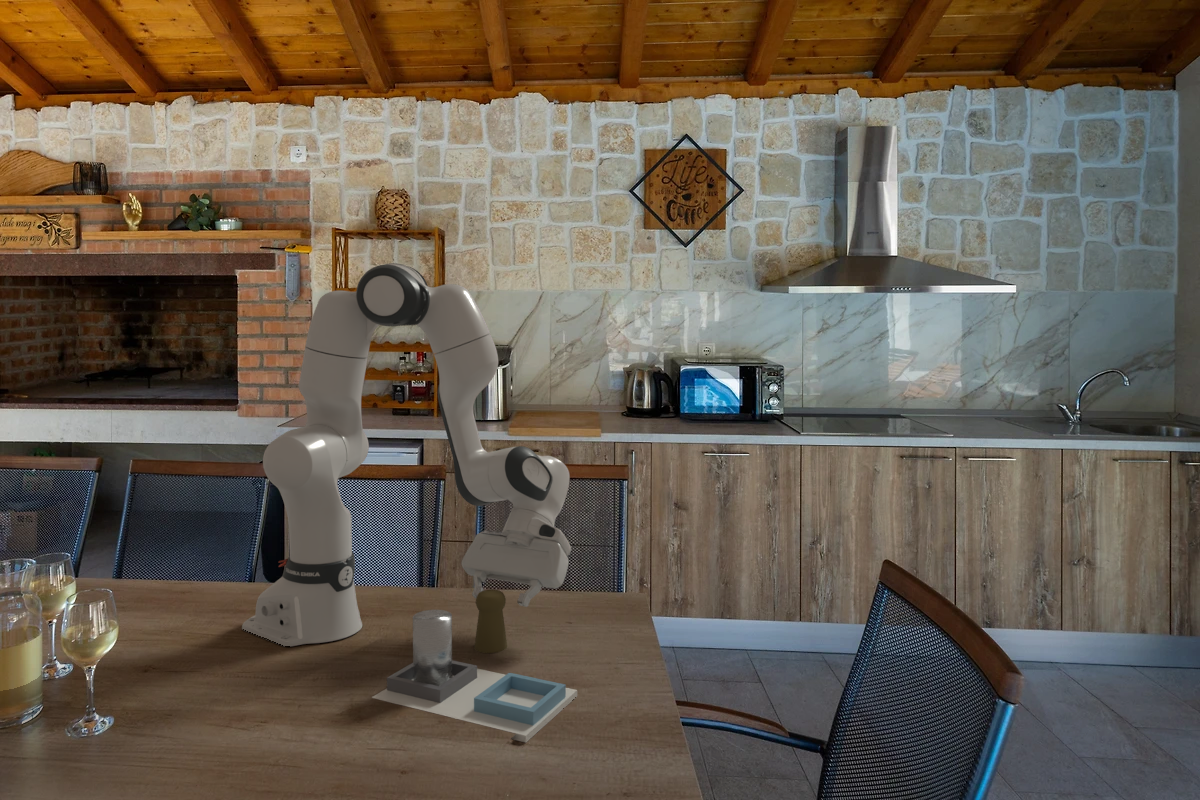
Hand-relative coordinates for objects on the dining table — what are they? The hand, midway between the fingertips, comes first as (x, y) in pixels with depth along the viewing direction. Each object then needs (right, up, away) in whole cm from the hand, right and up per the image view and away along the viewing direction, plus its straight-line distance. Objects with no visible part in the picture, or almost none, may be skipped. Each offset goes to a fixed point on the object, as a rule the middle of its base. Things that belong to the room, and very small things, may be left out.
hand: (499, 601), depth 148 cm
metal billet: (-8, -9, -17) cm, 21 cm away
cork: (-1, -9, -2) cm, 9 cm away
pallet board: (-1, -10, -20) cm, 23 cm away
